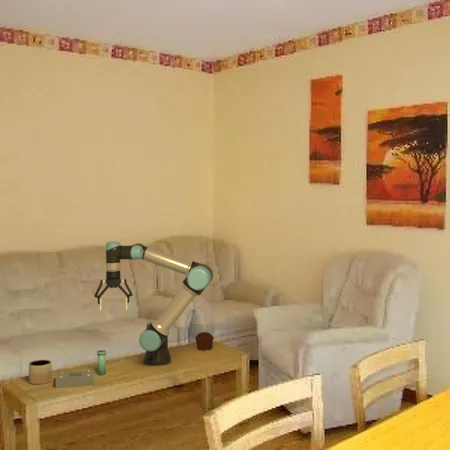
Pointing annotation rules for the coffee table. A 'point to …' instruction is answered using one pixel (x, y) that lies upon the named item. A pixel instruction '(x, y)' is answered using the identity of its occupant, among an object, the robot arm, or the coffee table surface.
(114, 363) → the coffee table surface
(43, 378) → the planter
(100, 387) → the coffee table surface
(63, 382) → the grey socket block
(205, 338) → the muffin
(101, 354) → the plug
